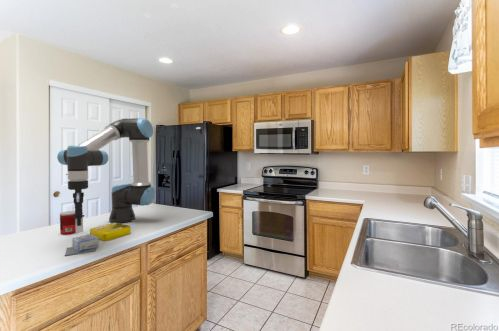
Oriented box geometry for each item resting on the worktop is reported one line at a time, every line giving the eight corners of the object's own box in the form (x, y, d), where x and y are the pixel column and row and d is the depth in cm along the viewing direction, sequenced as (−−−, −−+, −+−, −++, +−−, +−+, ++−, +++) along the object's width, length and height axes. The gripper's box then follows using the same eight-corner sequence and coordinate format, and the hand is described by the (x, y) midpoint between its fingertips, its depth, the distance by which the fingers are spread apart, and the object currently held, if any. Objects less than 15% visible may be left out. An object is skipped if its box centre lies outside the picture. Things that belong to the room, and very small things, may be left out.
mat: (95, 244, 120) (95, 243, 120) (95, 251, 112) (95, 250, 112) (67, 248, 115) (67, 247, 115) (64, 256, 107) (64, 255, 107)
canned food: (81, 230, 140) (81, 211, 140) (67, 235, 133) (67, 214, 132) (71, 229, 142) (70, 210, 142) (56, 234, 135) (56, 213, 134)
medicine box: (91, 233, 121) (98, 237, 115) (91, 242, 121) (98, 247, 116) (71, 238, 115) (78, 242, 109) (72, 247, 115) (79, 252, 109)
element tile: (105, 242, 124) (104, 232, 124) (88, 237, 132) (87, 228, 131) (132, 233, 137) (132, 225, 137) (115, 229, 145) (115, 221, 145)
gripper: (69, 179, 116) (70, 229, 117) (66, 182, 105) (67, 237, 106) (88, 178, 120) (89, 227, 121) (87, 181, 109) (89, 234, 110)
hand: (79, 232), depth 114 cm, fingers closed
